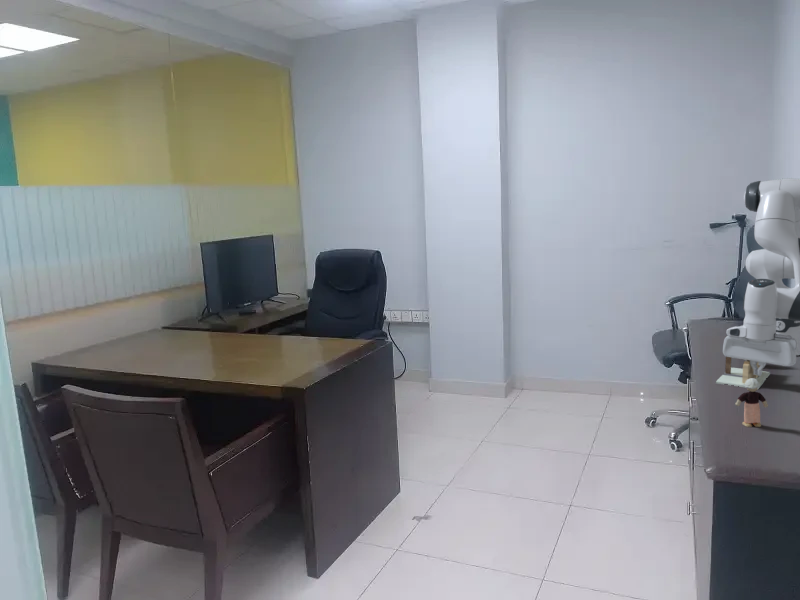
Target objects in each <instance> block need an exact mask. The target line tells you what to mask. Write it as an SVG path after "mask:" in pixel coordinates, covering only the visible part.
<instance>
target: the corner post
mask: <svg viewBox="0 0 800 600" xmlns="http://www.w3.org/2000/svg"><path fill="white" fill-rule="evenodd" d="M724 365H725V367H724V368H725V369H724V373H727V374H730V373H731V367H732V357H726V356H725V364H724Z"/></svg>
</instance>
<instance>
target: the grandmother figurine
mask: <svg viewBox="0 0 800 600" xmlns="http://www.w3.org/2000/svg"><path fill="white" fill-rule="evenodd" d="M759 386H760V384H759V383H758V380H757V379H754V378H750V379H747V381H746V382H745V387H746V388H745V387H744V388H745V389H747V392H744V393H743V392H742V393H741V394H740V395H739V396H738V398H737V400H736V402H735V404H734V405H735V406H737V407H740V405H741V404H742V403H743V402H744V406H743V408H744V409H743V410H744V411H743V421H742V423H741V424H742V426H745V427H747V428H752V427H753V426H754V427H756V428H760V427H762V423H761V408H760V402H761V403H762V405H763V407H764V408H768V407H769V404H768V402H767V399H766V398H765V397H764V395H763V394H762V393H761V392H758V390H759V389H760V388H759ZM760 387H761V386H760ZM758 388H759V389H758Z"/></svg>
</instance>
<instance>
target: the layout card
mask: <svg viewBox="0 0 800 600" xmlns="http://www.w3.org/2000/svg"><path fill="white" fill-rule="evenodd" d="M770 375H771V372H770V371H763V370H762V374H761V375H760V376H758V377H757V378H756V379H757V380H758V383H759V384H760V386H759V388H758V389H757V390H759V389H760V388H761V386H762V385H763V384H764V382H765V381H766V380H767V379H766V378H769V376H770ZM742 377H743V368H741V367H740V368H739V367H732V366H731V373H730V374H727V373H725V372H724V373H723V374H722V375H720V377H719V378H718V379H717V380H716V381H715V384H717V385H724V384H728V385H727V386H731V385H734V387H738V386H739V387H740V388H745V389H747V388H746V387H745V383H742Z"/></svg>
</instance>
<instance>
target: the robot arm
mask: <svg viewBox="0 0 800 600" xmlns="http://www.w3.org/2000/svg"><path fill="white" fill-rule="evenodd" d="M743 202H744V205H745V207H746V209H747V210H748V211H750V212H756V215H755V221H754V229H753V231H754V232H753V235H754V240H755V242H756V243H757V244H758V245H759V246H760V247H761V248H762V249H756V250H751V252H750V253H749V254H748V255H747V256H746V259H745V263H744V264H745V265H744V266H745V270H746V271H747V272H748V274H749V275H750V276H752V277H753V278H754V279H752V280H750V281H748V282H747V286H746V290H745V293H744V295H743V298H742V299H743V301H742V308H743V310H744V313H745V315H744V319H743V324H739V325H736V326H732V327H729V328H728V329H726V331H725V332H726V335H727V336H726V337H724V339H723V345H722V354H723V355H724V357H725V358H726V357H731V359H738V360H739V359H740V360H744V361H746V360H750V365H751V367H752V368H753V370H754V371H753V374H754V375H758V376H760V375H761V374H762V371H763V370H764V368H765V367H766V366H767V364H771V365H775V366H781V367H792V366H794V365H795V364H796V363H797V356H800V178H792V177H791V178H788V177H787V178H779V179H770V180H769V179H768V180H764V181H761V180H758V181H757V180H756V181H753V182H750V183H749V184H748V185H747V186H746V188H745V190H744V193H743ZM783 279H790V280H791V279H792V280H794V287H789V286H787V285H785V284H784V282H783ZM757 362H759V365H761V366H760V367H759V368H758V367H757V365H756V363H757Z"/></svg>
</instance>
